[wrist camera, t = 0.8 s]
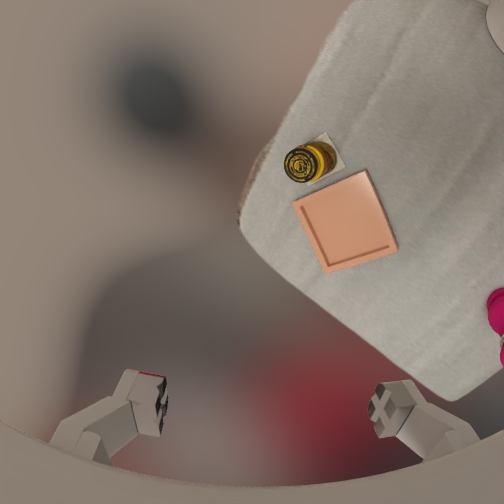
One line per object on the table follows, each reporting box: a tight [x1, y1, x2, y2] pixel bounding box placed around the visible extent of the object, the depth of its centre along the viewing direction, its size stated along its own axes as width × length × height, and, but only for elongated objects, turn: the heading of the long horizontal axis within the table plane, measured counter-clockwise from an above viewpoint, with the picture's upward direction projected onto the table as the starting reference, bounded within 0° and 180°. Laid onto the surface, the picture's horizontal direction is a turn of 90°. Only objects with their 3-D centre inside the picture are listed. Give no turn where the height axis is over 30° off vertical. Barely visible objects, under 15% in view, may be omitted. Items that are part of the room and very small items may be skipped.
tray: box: [292, 169, 398, 274], centre depth 52 cm, size 15×15×2 cm
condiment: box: [284, 132, 346, 186], centre depth 47 cm, size 7×8×12 cm
